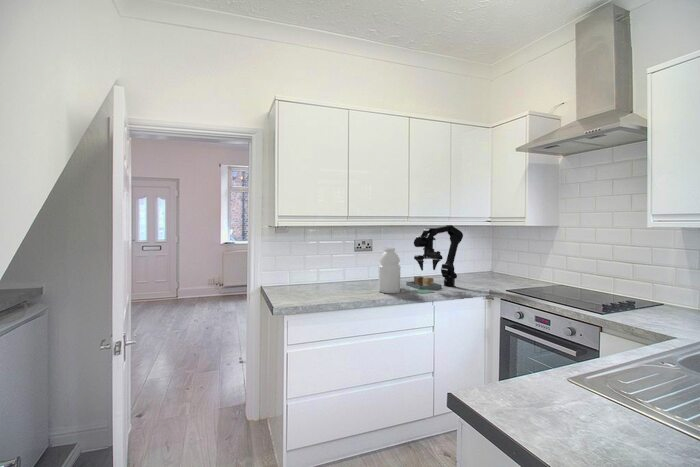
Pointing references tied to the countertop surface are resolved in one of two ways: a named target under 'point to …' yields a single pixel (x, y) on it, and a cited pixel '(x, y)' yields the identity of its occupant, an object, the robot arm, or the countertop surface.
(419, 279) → the walnut block
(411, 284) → the grey square slab
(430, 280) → the oak block
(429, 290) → the green pad
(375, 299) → the countertop surface
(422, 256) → the robot arm
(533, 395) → the countertop surface
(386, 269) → the bottle
